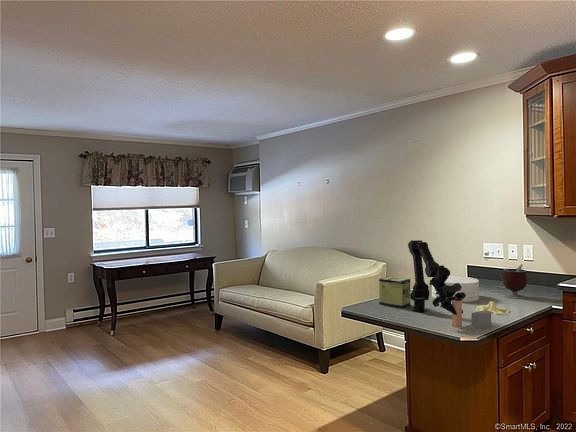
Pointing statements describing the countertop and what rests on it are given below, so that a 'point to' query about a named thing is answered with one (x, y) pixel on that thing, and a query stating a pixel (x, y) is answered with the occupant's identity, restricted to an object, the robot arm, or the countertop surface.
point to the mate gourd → (515, 281)
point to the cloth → (492, 308)
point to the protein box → (394, 292)
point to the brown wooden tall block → (457, 318)
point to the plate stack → (463, 287)
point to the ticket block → (479, 320)
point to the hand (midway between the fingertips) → (459, 313)
